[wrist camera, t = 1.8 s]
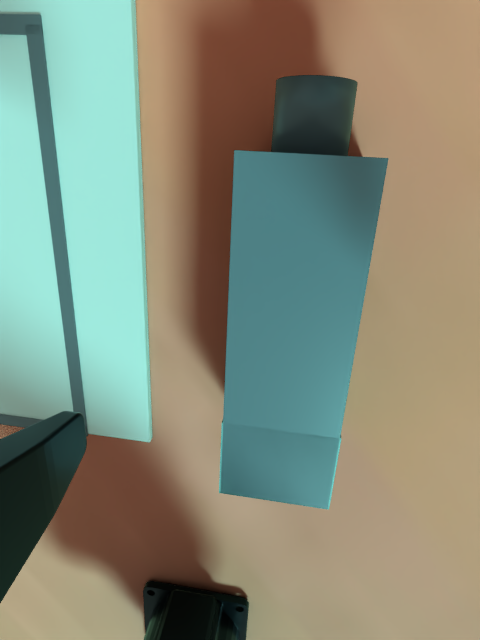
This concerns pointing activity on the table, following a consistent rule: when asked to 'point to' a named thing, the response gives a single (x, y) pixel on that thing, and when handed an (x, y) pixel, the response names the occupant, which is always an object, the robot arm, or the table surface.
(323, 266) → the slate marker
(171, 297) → the table surface
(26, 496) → the robot arm
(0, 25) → the paper sheet
